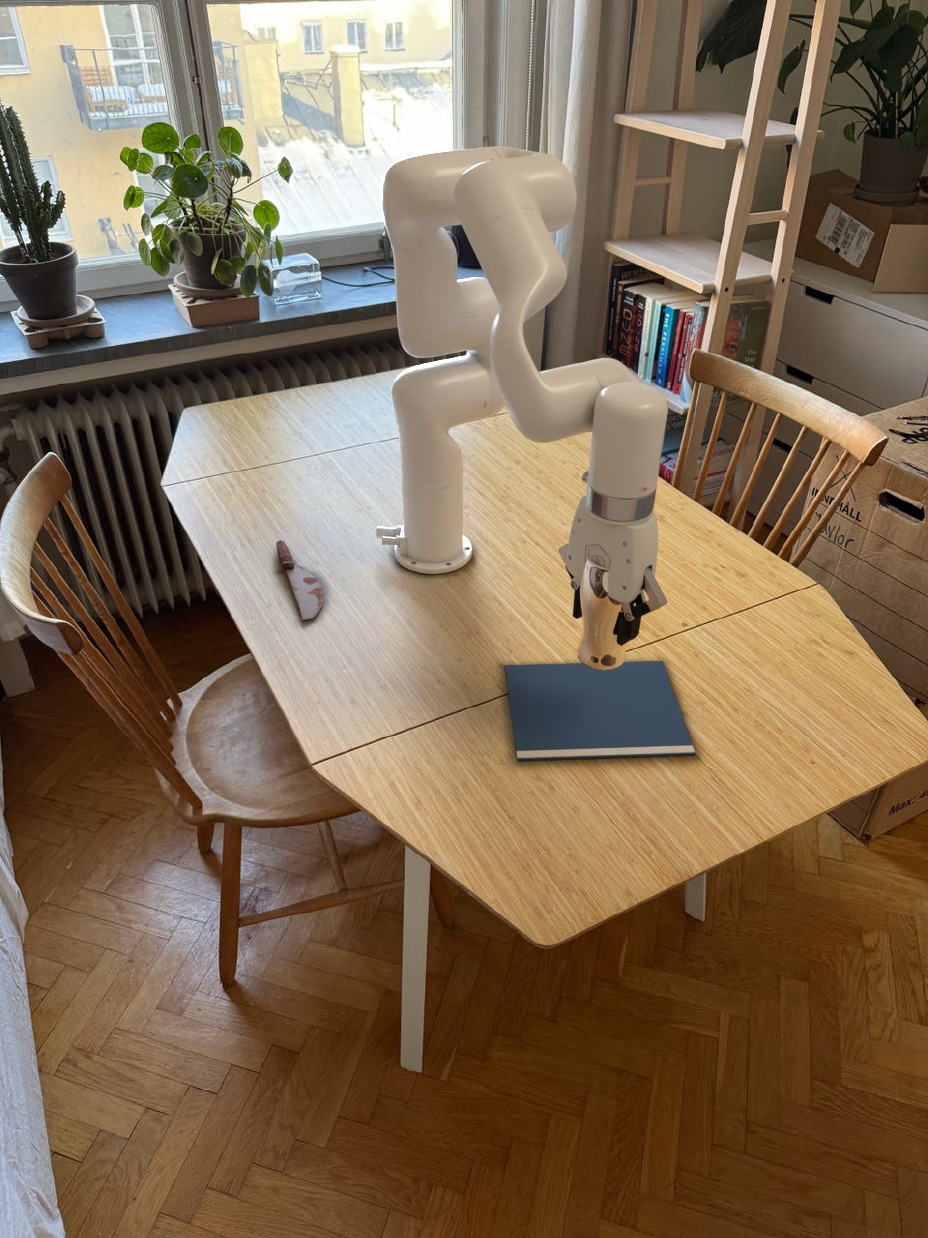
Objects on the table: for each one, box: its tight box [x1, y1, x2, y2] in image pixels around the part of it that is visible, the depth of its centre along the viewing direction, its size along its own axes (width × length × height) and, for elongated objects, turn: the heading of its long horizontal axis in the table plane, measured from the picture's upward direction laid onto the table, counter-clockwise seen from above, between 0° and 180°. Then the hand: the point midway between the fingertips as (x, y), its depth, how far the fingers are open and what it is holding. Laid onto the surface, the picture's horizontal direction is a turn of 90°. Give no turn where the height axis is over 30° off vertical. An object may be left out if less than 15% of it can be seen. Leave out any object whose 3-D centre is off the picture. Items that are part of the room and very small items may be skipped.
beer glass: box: [576, 558, 636, 670], centre depth 110 cm, size 7×7×15 cm
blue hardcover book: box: [504, 660, 696, 762], centre depth 120 cm, size 22×18×1 cm
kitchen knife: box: [275, 539, 325, 621], centre depth 143 cm, size 21×2×5 cm
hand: (604, 625), depth 112 cm, fingers closed on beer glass, 6 cm apart
